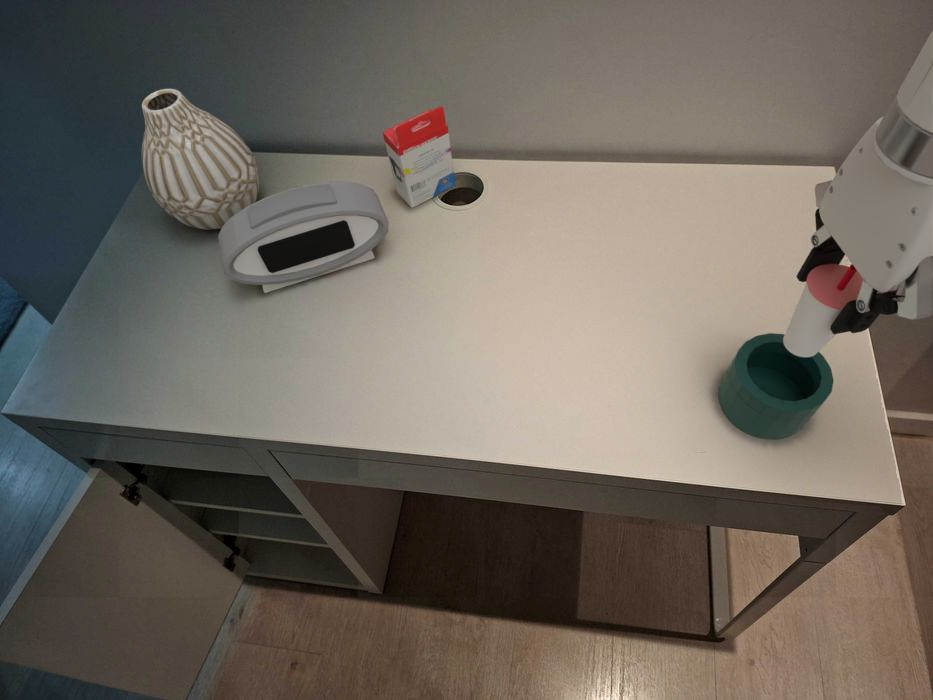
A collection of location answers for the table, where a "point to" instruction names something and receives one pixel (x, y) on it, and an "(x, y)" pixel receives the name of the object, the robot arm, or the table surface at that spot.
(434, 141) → the ink box
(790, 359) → the teal pot
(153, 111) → the vase
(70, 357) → the table surface
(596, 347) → the table surface
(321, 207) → the alarm clock
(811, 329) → the cup
